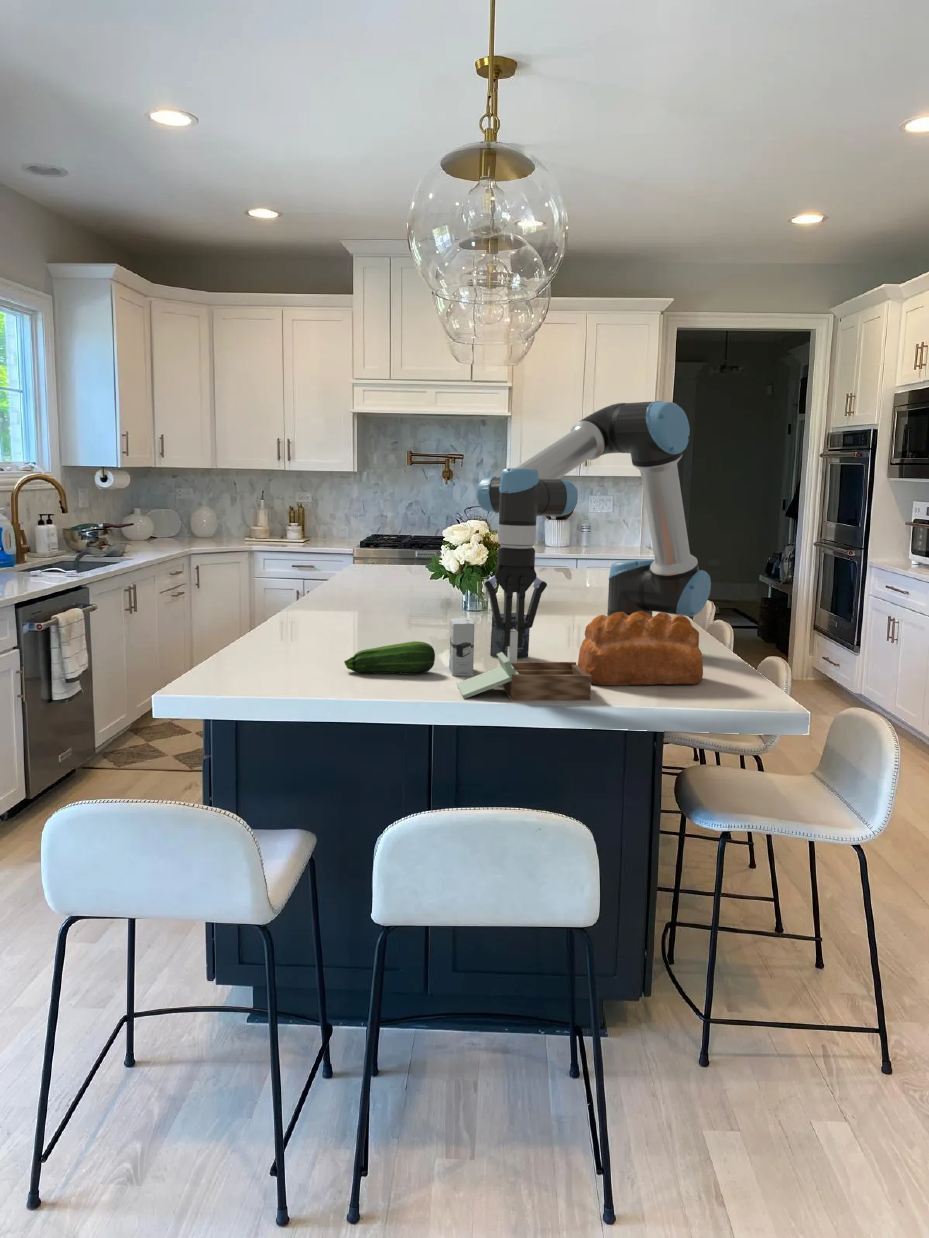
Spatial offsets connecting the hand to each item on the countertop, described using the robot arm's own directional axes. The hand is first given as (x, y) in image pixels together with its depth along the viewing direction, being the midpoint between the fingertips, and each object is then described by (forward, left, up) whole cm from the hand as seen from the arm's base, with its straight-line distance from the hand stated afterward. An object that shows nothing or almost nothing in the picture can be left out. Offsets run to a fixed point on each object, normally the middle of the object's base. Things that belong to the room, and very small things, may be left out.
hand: (511, 661), depth 183 cm
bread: (-31, -12, -7) cm, 34 cm away
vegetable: (+24, -18, -7) cm, 31 cm away
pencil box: (-7, 0, -6) cm, 9 cm away
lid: (+5, 0, -4) cm, 6 cm away
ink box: (+8, -19, -7) cm, 22 cm away
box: (-6, -36, -7) cm, 37 cm away
